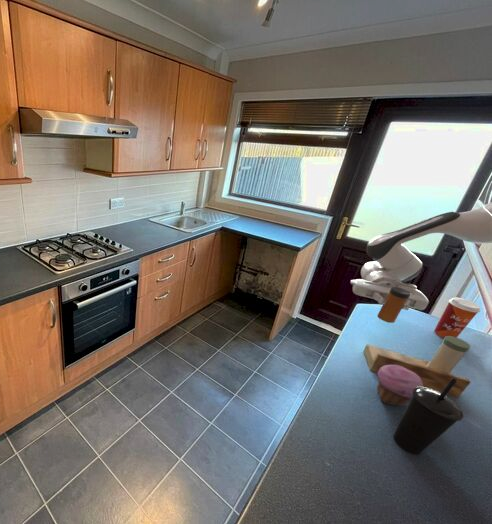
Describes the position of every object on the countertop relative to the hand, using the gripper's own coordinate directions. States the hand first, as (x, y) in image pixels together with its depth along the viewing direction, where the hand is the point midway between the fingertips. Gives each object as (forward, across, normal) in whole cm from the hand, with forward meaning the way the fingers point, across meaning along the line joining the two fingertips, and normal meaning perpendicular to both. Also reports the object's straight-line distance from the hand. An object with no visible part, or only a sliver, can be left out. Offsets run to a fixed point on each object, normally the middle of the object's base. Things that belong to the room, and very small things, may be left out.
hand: (394, 305), depth 91 cm
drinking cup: (+42, -4, +14) cm, 45 cm away
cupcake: (+29, -4, +14) cm, 33 cm away
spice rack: (+15, +4, +14) cm, 21 cm away
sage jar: (+14, +10, +11) cm, 21 cm away
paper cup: (-16, +24, +14) cm, 32 cm away
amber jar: (-1, 0, +6) cm, 6 cm away
